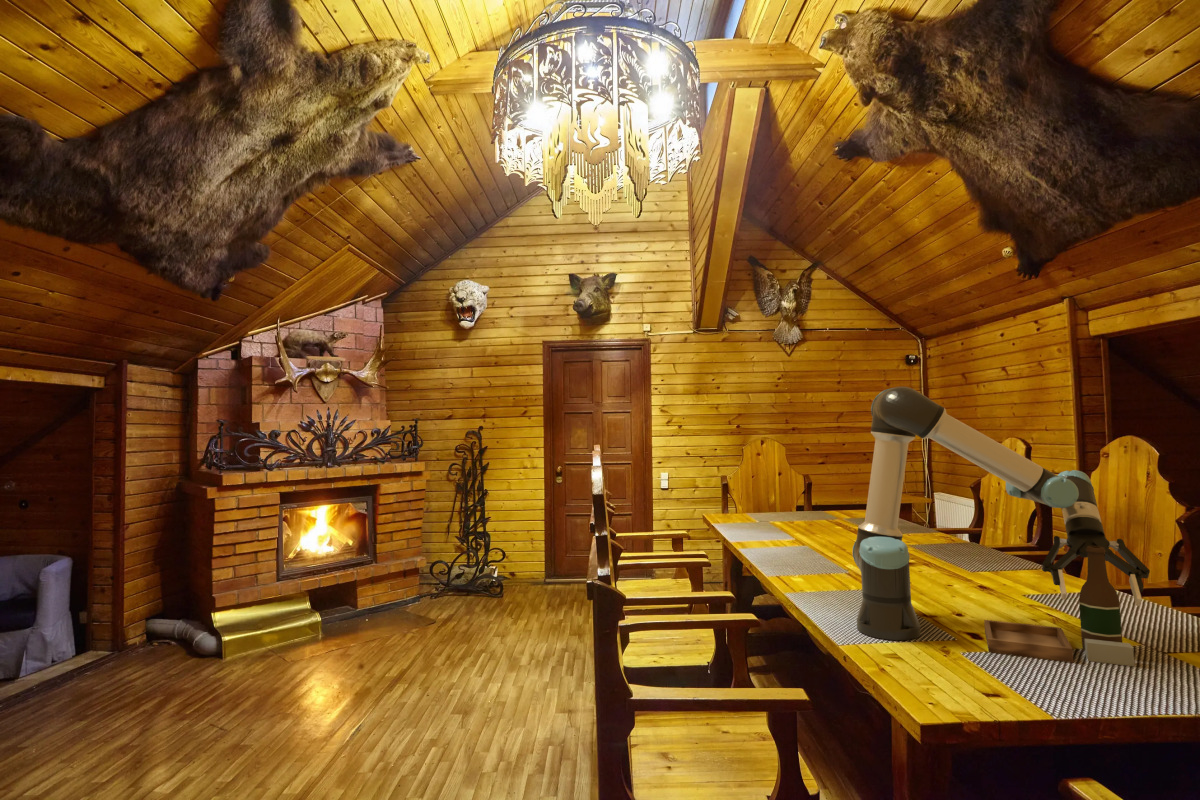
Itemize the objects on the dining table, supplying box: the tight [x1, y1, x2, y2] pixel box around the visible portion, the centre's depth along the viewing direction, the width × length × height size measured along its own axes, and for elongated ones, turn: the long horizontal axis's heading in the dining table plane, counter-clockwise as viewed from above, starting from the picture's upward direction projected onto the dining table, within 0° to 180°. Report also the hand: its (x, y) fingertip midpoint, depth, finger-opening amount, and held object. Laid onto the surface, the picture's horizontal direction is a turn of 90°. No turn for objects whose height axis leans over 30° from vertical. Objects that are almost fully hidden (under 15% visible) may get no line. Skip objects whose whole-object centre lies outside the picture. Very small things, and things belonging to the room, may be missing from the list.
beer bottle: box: [1078, 546, 1123, 651], centre depth 144 cm, size 8×8×24 cm
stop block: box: [1084, 639, 1136, 667], centre depth 138 cm, size 8×3×4 cm, turn 61°
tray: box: [983, 619, 1075, 663], centre depth 148 cm, size 16×16×3 cm
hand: (1100, 599), depth 143 cm, fingers open, 13 cm apart
